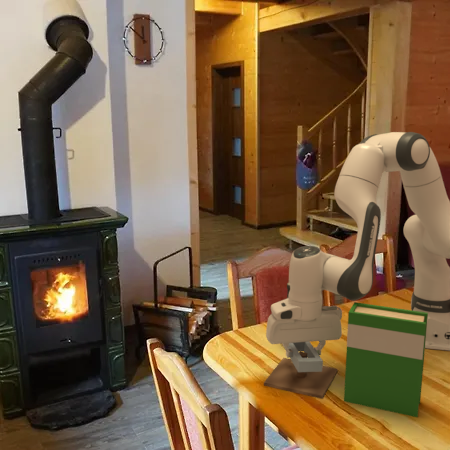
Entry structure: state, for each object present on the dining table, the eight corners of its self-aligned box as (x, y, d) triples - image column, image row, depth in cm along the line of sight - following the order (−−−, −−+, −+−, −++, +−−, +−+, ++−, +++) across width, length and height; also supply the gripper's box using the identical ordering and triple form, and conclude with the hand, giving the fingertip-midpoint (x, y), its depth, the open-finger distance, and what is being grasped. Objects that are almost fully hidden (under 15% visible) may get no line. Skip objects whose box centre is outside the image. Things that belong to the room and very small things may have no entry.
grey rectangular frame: (284, 348, 154) (285, 338, 153) (306, 348, 155) (307, 338, 154) (298, 372, 141) (299, 361, 140) (321, 371, 141) (322, 360, 141)
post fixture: (337, 371, 153) (338, 347, 151) (322, 398, 139) (323, 372, 137) (283, 360, 159) (284, 337, 158) (263, 385, 145) (264, 360, 144)
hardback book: (420, 402, 137) (427, 312, 132) (417, 417, 130) (425, 323, 125) (349, 387, 144) (354, 302, 139) (343, 401, 137) (348, 312, 132)
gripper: (338, 301, 149) (336, 347, 152) (265, 305, 146) (264, 352, 149) (346, 309, 143) (344, 358, 146) (270, 314, 140) (269, 363, 143)
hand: (303, 355), depth 147 cm, fingers closed on grey rectangular frame, 6 cm apart
